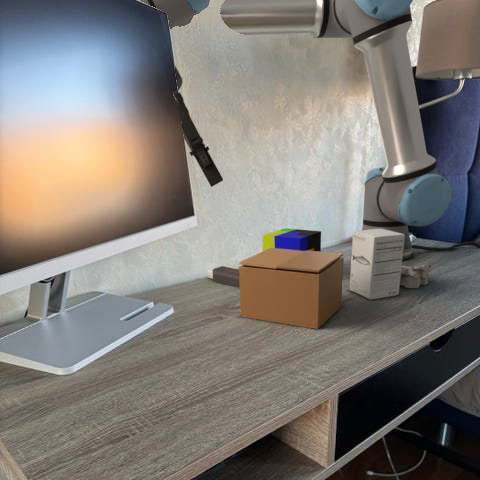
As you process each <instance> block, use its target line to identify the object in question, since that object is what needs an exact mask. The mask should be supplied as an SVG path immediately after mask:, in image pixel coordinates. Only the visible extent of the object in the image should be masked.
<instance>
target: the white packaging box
mask: <svg viewBox="0 0 480 480" xmlns="http://www.w3.org/2000/svg"><path fill="white" fill-rule="evenodd" d="M361 230H362V229H361ZM361 230H355V231H352V243H351V261H350V275H349V291H350V292H351V291H352V292H354V293H355V294H358V295H360V296H361V297H364V298H366V299H367V300H371V301H372V300H376V299H383V298H390V297H395V296H399V294H400V293H399V292H400V286H401V285H400V275H401V266H403V265H402V264H403V260H402V256H403V246H404V237H405V234H401V233H397V232H393V231H389V230H385V229H370V230H362V231H361Z"/></svg>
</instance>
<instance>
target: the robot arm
mask: <svg viewBox="0 0 480 480" xmlns="http://www.w3.org/2000/svg"><path fill="white" fill-rule="evenodd" d="M140 1H141V2H144V3H146V4H148V5H150V6H153V7H155V8H157V9H159V10H161V11H163V12H165V13H167V15H168V20H169V27H170V29H172V28H173V27H175V26H179V27H181V26H185V25H187V24H189V23H190V22H191V20H192V18H193V16H194V15H196V14H199V13H200V12H201V11H202V10H204V9H205V8H207V7H208V5H209V2H210V0H140ZM413 1H414V0H225V1H224V3H223V4H222V5H221V8H220V9H221V10H220V11H221V12H220V14H221V18H222V20H223V21H224V23H225V24H226V25H227V26H228V27H229V28H230V29H232V30H234V31H236V32H238V33H240V34H244V35H243V36H261V35H287V34H288V35H289V34H291V35H292V34H293V35H294V34H309V35H310V36H311V37H312V38H313V39H352V42H353V46H354V48H355V49H356V50H359V51H361V53H362V54H363V58H364V61H365V66H366V71H367V76H368V80H369V81H368V82H369V86H370V91H371V95H372V99H373V105H374V109H375V114H376V119H377V123H378V127H379V134H380V137H381V138H380V139H381V142H382V147H383V151H384V157H385V160H386V166H381V167H375V168H371V169H369V170H368V171H367V172H366V173H365V180H364V183H363V185H364V195H363V211H362V227H361V229H360V231H362V230H370V229H385V230H389V231H393V232H397V233H401V234H405V237H404V246H403V256H402V261H403V260H408V259H410V258H412V256H413V250H414V249H415V250H423V251H432V252H450V251H453V250H454V249H455V248H460V247H465V246H474V247H476V248H477V249H480V243H478V242H476V241H464V242H463V241H462V242H459V243H454V244H452V245H451V246H447V247H437V246H436V247H434V246H424V245H418V244H417V245H416V244H412V241H411V236H410V233H409V227H408V226H410V227H426V226H430V225H431V224H434V223H435V222H436V221H438V220H439V219H440V218H441V217H442V216H443V215H444V213H445V211H446V210H447V209H448V207H449V205H450V202H451V198H452V196H451V195H452V190H451V186H450V183H449V182H448V180H447V179H446V178H445V177H444V176H442V175H440V174H439V171H438V166H437V160H436V158H435V157H433V156H432V155H430V154H428V152H427V147H426V141H425V135H424V130H423V123H422V118H421V112H420V108H419V101H418V95H417V90H416V84H415V78H414V73H413V67H412V61H411V54H410V50H409V44H408V38H407V35H408V32H409V31H410V28H411V26H412V24H414V23H413V22H414V21H413V15H412V10H411V4H412V3H413ZM175 74H176V80H177V86H178V91H177V90H176V91H174V92H173V93H174V94H173V96H174V98H175V100H176V101H177V103H179V106H178V108H179V114H180V117H181V121H182V129H183V134H184V137H183V139H184V141H185V143H186V144H187V146H188V148H189V150H190V152H188V153H189V155H190V156H191V157H192V156H193V158H195V160H196V163H197V164H198V166H199V167H200V169H201V171H202V173H203V176H204V177H205V178H206V181H207V182H208V184H209V186H210V188H212V187H214V186H216V185H218V184H219V183H221V182H223V181H224V178H223V176H222V174H221V173H220V171H219V169H218V167H217V165H216V164H215V161H214V160H213V158H212V156H211V154H210V152H209V151H210V148H209V146H208V145H207V146H206V144H205V143H204V139H203V137H201V135H200V133H199V131H198V129H197V127H196V125H195V123H194V121H193V119H192V118H191V115H190V111H189V109H188V107H187V105H186V103H185V100H184V97H183V95H182V94H181V92H179V90H180V89H181V88H182V86H183V77H182V75H181V74H180V71H179V70H178V68H177V66H176V65H175Z"/></svg>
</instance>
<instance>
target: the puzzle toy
mask: <svg viewBox="0 0 480 480" xmlns="http://www.w3.org/2000/svg"><path fill="white" fill-rule="evenodd" d="M321 247H322V231H321V230H310V229H300V228H299V229H298V228H287V227H285V228H281V229H279V230H274V231H271V232H267V233H264V234H262V252H263V251H265V250H267V249H269V248H278V249H289V250H299V251H319V252H322V250H321V249H322V248H321Z"/></svg>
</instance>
